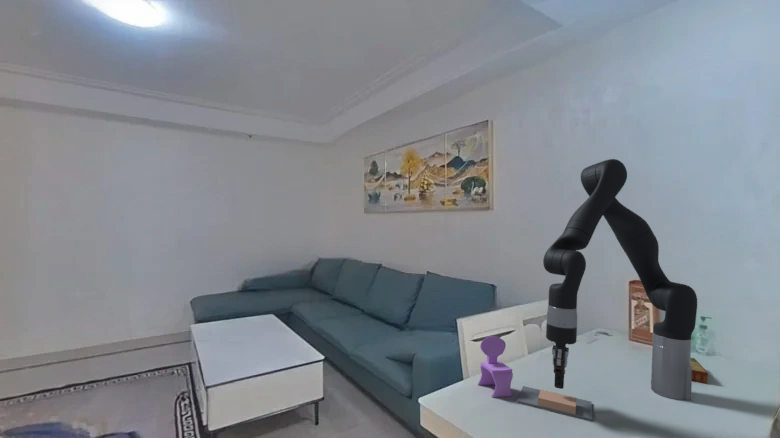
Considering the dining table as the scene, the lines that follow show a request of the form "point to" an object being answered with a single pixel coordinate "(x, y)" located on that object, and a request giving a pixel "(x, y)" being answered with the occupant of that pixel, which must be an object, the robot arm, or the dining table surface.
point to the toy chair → (495, 367)
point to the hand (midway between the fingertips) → (558, 387)
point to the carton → (698, 372)
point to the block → (557, 401)
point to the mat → (531, 399)
